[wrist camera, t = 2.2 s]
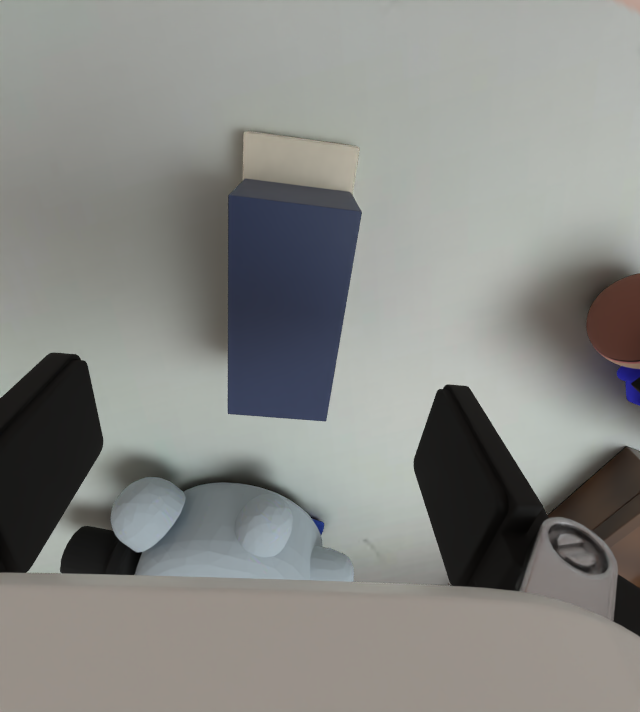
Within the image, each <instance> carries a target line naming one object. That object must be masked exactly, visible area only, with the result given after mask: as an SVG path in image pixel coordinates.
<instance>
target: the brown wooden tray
mask: <svg viewBox="0 0 640 712" xmlns="http://www.w3.org/2000/svg"><path fill="white" fill-rule="evenodd" d="M548 517H549V518H551V517H563V518H567V519H571V520H573V521H576V522H578V523H580V524H582V525H584V526H585V527H587V528H589V529H590V530H592V531H593V532H594V533H595V534H597V535H598V536H599V537H600V538H601V539H602V540H603V541H604V542H605V543H606V544H607V546H608V547H609V548H610V549H611V551H612V552H613V554H614V556H615V559H616V561H617V566H618V574H619V575H620V576H622V577H623V578H625V579H626V580H628V581H630V582H631V583H633V584H634V585H636V586H637V587H639V588H640V451H637V450H635V449H632V448H629V447H625V448H624V449H623V450H622V451H621V452H620V453H618V454H617V455H616V456H615V457H614V458H613V459H612V460H611V461H609V462H608V463H607V464H606V465H605V466H604V467H603V468H601V469H600V470H599V471H598V472H597V473H596V474H595V475H593V476H592V477H591V478H590V479H589V480H588V481H587V482H585V483H584V484H583V485H582V486H581V487H580V488H579V489H578V490H576V491H575V492H574V493H573V494H572V495H571V496H570V497H568V498H567V499H566V500H565V501H564V502H563V503H562V504H560V505H559V506H558V507H557V508H556V509H555V510H554V511H553V512H551V513H550V514H549V515H548Z"/></svg>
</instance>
